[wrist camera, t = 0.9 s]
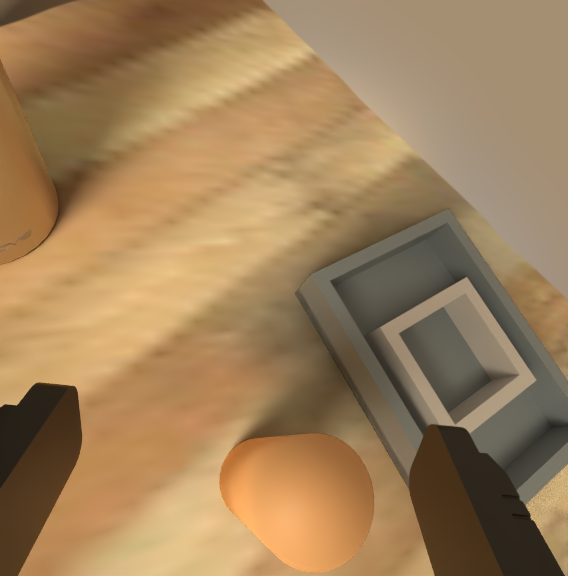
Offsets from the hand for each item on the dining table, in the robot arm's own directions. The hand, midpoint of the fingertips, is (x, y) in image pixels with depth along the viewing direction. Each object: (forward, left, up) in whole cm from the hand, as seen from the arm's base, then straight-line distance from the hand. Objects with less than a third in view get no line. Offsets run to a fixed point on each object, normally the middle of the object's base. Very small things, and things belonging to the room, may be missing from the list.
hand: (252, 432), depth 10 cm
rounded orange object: (+4, +2, -20) cm, 20 cm away
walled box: (+4, +18, -20) cm, 27 cm away
